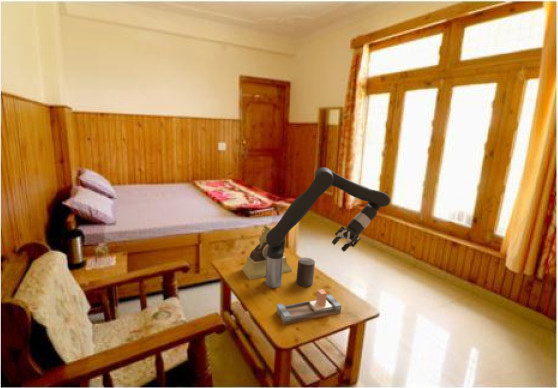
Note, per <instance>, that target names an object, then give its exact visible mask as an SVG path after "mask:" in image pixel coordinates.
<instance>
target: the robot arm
mask: <svg viewBox="0 0 558 388" xmlns="http://www.w3.org/2000/svg"><path fill="white" fill-rule="evenodd" d="M331 187H335V188H337V189H339V190H340V191H343V192H344V193H346V194H348V195H349V196H351V197H353V198H356V199H358V200H360V201H364V202H367V203H366V205H365V206H364V207H363V208H362V209H361V210H360V211H359V212H358V213H357V214H356V215H355V216H354V217H353V218H352V219H351V220H350V221H349V223H347V227H346V228H345V227H344V225H343V226H341V227H339V229H337V231H336V232H335V233H334V235H335V237H334V238H333V240H332V241H331V244H333V246H335V245H336V244H337V243H338V242H340V240H342V239H343V240H344V239H346V243H345V244H344V245H342V247H341V251H342V252H343V253H344V252H346V251H347V250H348V249H349V247H352V248H354V247H356V245H357V244H358V243H359V241H360V240H361V236H360V235H361V233H363V232H364V230H365V229H366V228H367V227H368V226H369V224H370V223H371V222H372V221H373V220H374V218H376V216H377V214H378V211H379V210H380V209H381V208H385V207H388V206H389V205H390V202H391V197H390V195H388V193H386V192H383V191H380V190H377V189H372V188H369V187H367V186H365V185H362V184H360V183H357V182H355V181H352V180H350V179H347V178H345V177H343V176H341V175H339V174H338V173H336V172H334V171H333V170H331V169H329V168H328V167H323V166H322V167H319V168H317V169H316V170H315V172H314V179H313V181H312V182H311V184H310V185H309V186H308V187H307V189H306V190H305V191H303V192H302V193H301V194H300V195H298V196H297V197H296V198H295V199H294V200H293V201H292V203H291V204H290V205H289V206H288V208H287V209H286V210H285V212H284V214H283V215H282V216H281V218H280V220H279V221H278V222H277V224H275V225H274V227H272V228H271V230H270V231H269V232H268V233H267V236H266V242H267V244H268V245H269V247H268V250H267V262H266V276H265V282H264V283H265V285H266V287H268V288H271V289H272V288H275V289H276V288H279V287H280V286H282V282H283V281H282V280H283V273H282V269H283V255H284V252H285V249H286V248H285V247H286V236H287V235H288V233H289V232H290V231H291V230H292V229H293V228H294V227H296V225H297V224H298V223H299V222H300V221H301V220H303V218H304V217H305V216H306V214H308V212H309V211H310V210H311V208H313V206H314V205H315V203H316V201H317V200H318V199H319V198H320V197H321V196H323V194H324V193H325V192H326V191H327V190H328V189H329V188H331Z"/></svg>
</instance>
